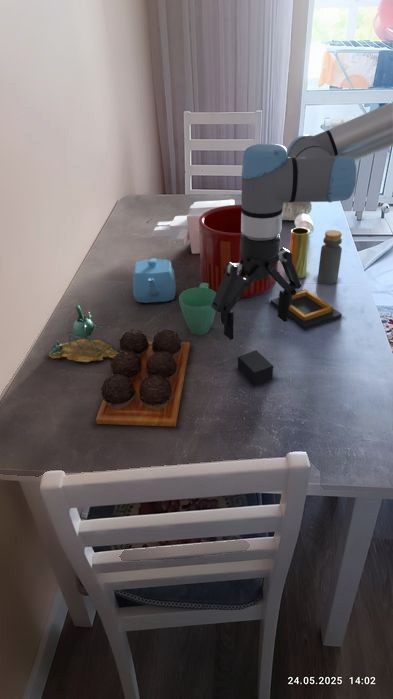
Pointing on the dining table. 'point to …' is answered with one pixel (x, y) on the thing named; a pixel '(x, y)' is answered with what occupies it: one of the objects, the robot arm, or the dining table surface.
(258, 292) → the planter
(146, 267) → the teapot
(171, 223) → the white stepped block
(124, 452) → the dining table surface
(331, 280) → the bottle
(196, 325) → the mug
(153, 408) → the chocolate muffin tray
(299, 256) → the vase
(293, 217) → the decorative shell
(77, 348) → the cartoon bug character
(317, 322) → the base
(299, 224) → the roll
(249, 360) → the black rectangular block
